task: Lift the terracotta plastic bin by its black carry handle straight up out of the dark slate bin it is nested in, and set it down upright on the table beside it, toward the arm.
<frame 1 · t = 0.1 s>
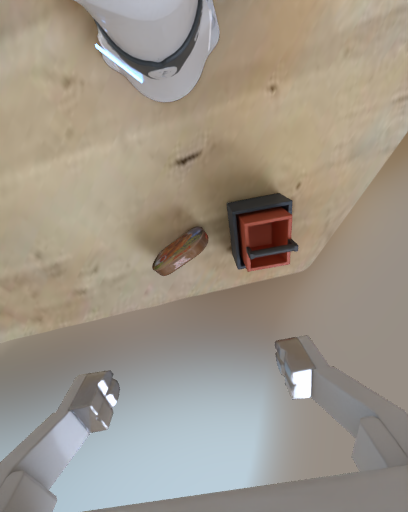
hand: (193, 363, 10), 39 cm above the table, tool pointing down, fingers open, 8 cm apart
terracotta bin: (254, 227, 47), point 1 cm above the table, touching slate bin
tin: (180, 243, 49), on the table
slate bin: (254, 226, 48), on the table
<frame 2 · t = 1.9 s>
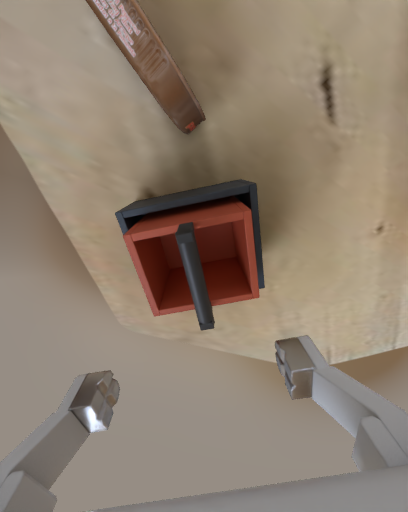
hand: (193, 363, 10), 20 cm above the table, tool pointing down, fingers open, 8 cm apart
terracotta bin: (197, 236, 27), point 1 cm above the table, touching slate bin
tin: (150, 67, 20), on the table
slate bin: (197, 234, 28), on the table
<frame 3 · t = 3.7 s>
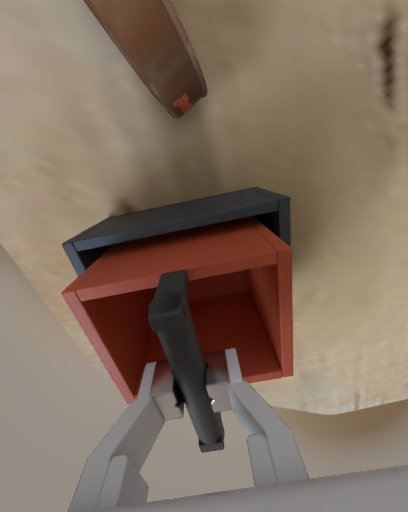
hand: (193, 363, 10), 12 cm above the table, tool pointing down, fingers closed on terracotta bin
terracotta bin: (194, 264, 20), point 1 cm above the table, touching gripper, slate bin
tin: (120, 15, 13), on the table
slate bin: (194, 260, 20), on the table
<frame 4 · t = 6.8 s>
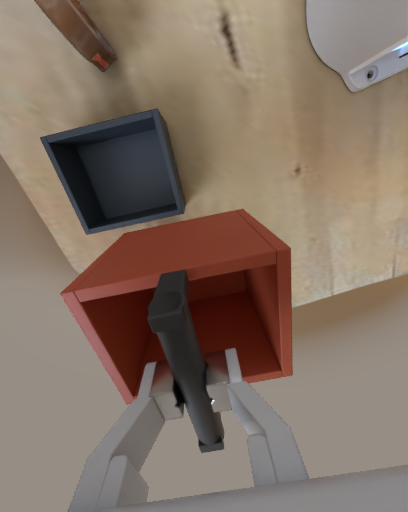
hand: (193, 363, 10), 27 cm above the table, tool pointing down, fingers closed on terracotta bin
terracotta bin: (193, 264, 20), point 16 cm above the table, touching gripper
tin: (71, 15, 24), on the table
slate bin: (133, 176, 31), on the table
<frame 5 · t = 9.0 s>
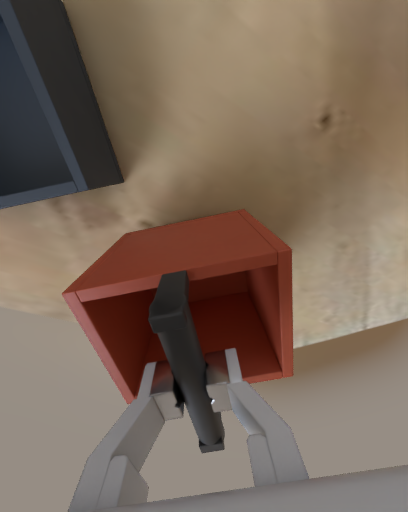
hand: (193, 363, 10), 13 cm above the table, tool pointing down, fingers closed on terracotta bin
terracotta bin: (194, 264, 20), point 3 cm above the table, touching gripper
slate bin: (18, 124, 16), on the table
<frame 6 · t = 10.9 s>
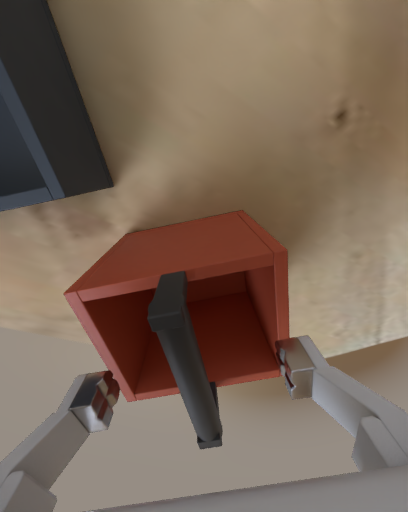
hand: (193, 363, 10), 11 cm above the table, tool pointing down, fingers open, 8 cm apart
terracotta bin: (193, 265, 20), on the table
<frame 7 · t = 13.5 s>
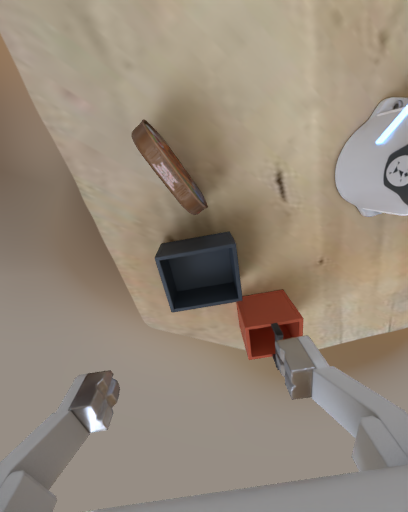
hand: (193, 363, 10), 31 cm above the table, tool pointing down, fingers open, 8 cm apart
terracotta bin: (260, 308, 47), on the table
tin: (175, 171, 35), on the table
slate bin: (200, 263, 42), on the table
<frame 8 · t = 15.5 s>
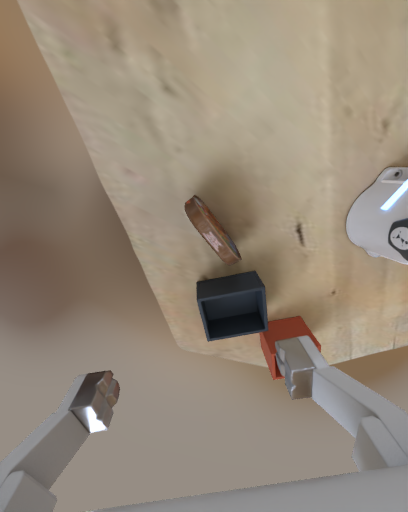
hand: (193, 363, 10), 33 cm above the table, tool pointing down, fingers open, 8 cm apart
terracotta bin: (279, 332, 54), on the table
tin: (212, 225, 41), on the table
slate bin: (229, 297, 48), on the table
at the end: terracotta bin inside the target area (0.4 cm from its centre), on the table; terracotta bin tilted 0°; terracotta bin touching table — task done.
